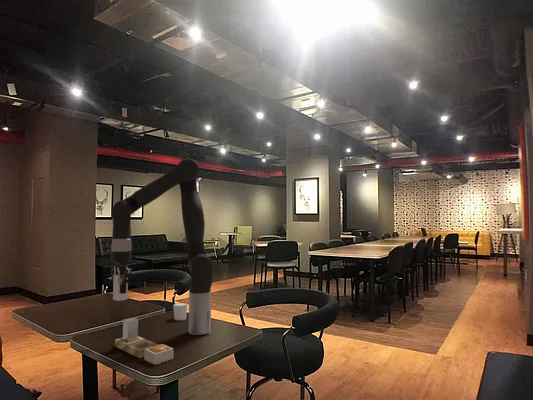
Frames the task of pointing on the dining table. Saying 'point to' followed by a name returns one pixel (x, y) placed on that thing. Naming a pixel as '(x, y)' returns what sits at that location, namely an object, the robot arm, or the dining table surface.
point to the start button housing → (158, 355)
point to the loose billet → (118, 289)
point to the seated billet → (130, 330)
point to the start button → (159, 348)
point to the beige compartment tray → (135, 346)
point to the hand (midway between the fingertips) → (120, 292)
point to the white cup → (180, 311)
